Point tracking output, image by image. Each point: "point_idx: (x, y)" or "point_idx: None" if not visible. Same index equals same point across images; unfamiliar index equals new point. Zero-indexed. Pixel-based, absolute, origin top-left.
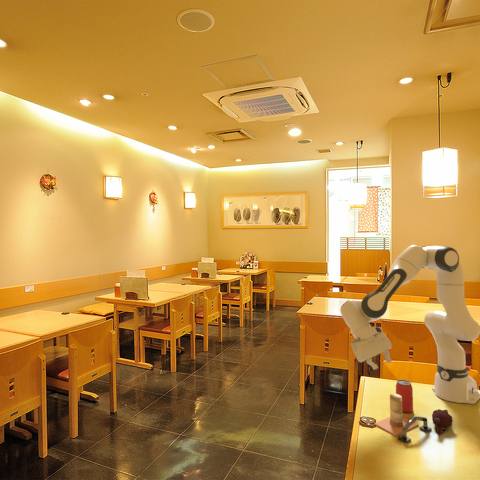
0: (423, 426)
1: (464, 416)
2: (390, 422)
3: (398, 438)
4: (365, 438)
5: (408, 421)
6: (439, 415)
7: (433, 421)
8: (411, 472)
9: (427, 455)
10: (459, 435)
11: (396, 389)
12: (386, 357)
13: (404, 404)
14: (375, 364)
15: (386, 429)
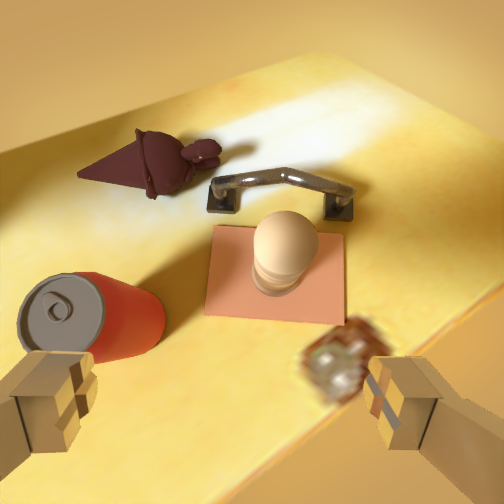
0: (224, 200)
1: (32, 169)
2: (297, 283)
3: (351, 220)
4: (445, 290)
5: (318, 185)
6: (172, 147)
7: (190, 176)
8: (451, 125)
9: (348, 136)
10: (172, 131)
11: (119, 346)
12: (6, 456)
13: (152, 301)
14: (426, 393)
15: (342, 271)
